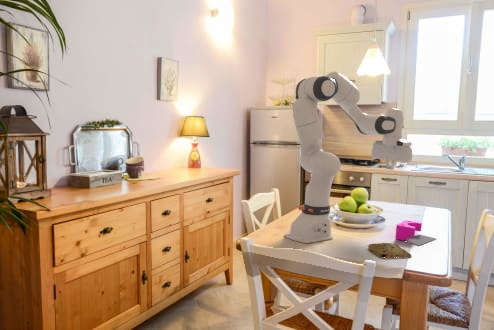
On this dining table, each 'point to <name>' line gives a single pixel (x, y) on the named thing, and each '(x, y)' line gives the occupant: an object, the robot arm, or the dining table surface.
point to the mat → (419, 240)
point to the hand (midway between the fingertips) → (389, 169)
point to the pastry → (388, 250)
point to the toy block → (407, 229)
